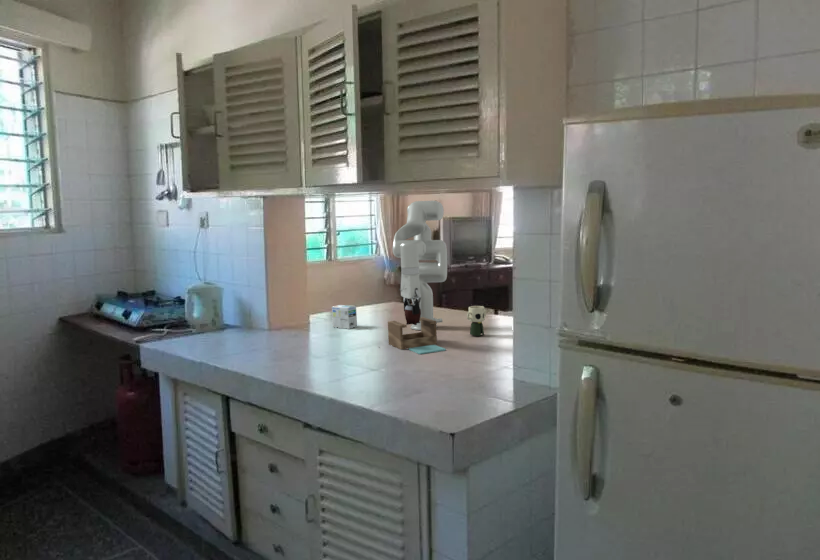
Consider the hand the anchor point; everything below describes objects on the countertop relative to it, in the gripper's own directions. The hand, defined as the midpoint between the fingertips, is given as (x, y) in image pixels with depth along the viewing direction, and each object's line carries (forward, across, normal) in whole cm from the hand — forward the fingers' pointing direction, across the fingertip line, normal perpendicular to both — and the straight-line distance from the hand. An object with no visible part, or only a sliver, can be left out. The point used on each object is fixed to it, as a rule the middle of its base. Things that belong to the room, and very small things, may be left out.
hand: (411, 312), depth 272 cm
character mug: (+14, +2, +32) cm, 35 cm away
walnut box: (+14, +1, 0) cm, 14 cm away
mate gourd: (+5, 0, 0) cm, 5 cm away
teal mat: (+13, +14, 0) cm, 19 cm away
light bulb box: (+15, -53, -10) cm, 56 cm away
